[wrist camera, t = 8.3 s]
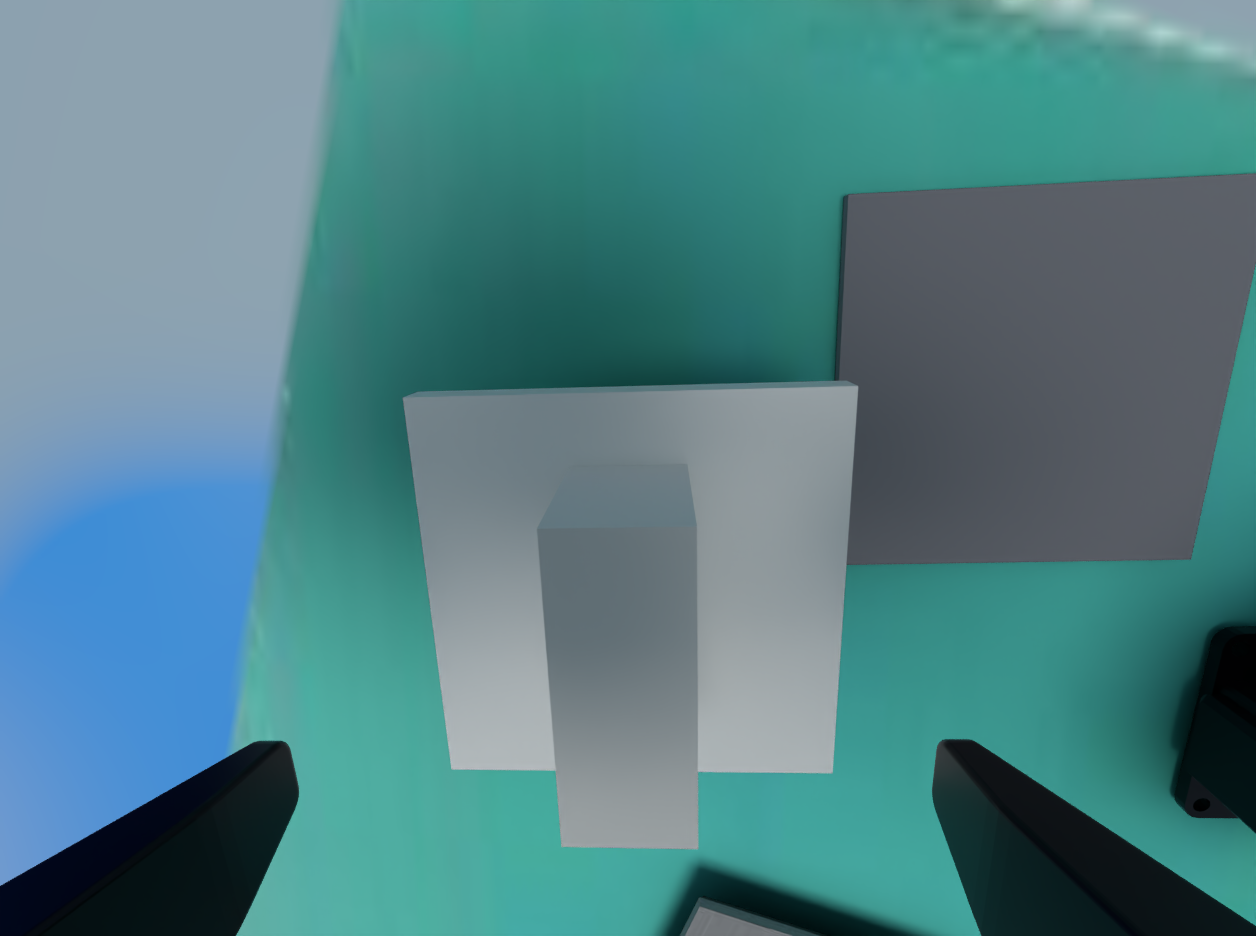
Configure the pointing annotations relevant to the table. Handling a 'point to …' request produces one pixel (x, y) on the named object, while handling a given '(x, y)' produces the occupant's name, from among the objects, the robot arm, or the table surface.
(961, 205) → the mat
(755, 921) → the electrical outlet
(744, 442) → the lid
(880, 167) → the table surface
